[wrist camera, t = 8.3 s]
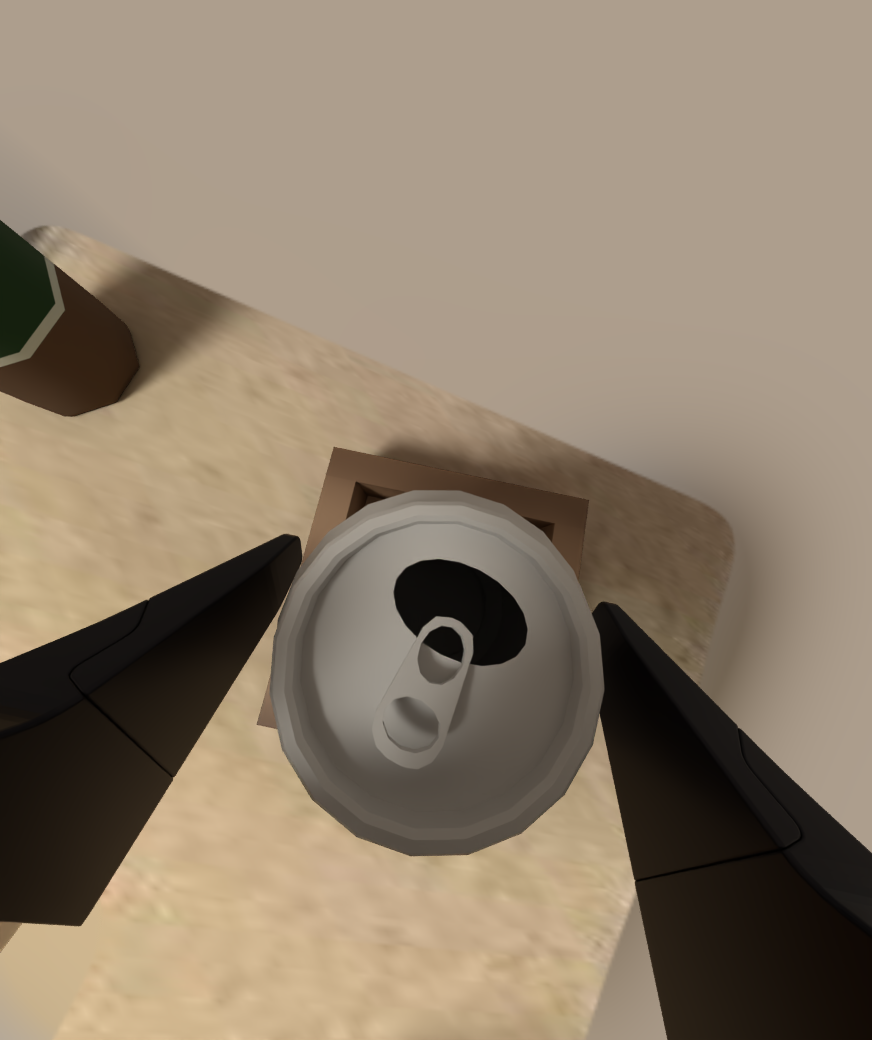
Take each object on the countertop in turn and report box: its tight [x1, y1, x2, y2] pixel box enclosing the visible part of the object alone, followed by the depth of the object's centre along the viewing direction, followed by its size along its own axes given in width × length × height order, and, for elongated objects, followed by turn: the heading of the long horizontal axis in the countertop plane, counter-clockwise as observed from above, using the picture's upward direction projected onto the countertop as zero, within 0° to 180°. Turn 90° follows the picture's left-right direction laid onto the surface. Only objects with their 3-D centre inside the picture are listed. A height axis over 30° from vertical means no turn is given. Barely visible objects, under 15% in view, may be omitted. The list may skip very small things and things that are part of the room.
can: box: [269, 490, 604, 856], centre depth 11 cm, size 8×8×12 cm
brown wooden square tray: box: [257, 447, 589, 729], centre depth 16 cm, size 13×13×4 cm
